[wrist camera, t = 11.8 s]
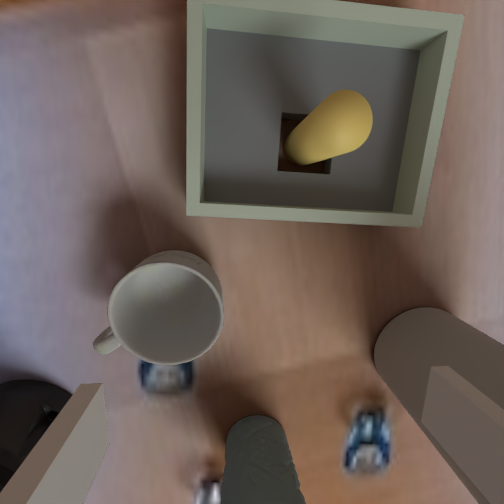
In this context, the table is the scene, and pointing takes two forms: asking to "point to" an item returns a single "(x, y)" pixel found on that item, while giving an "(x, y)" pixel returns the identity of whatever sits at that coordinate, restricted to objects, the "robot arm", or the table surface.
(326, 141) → the peg
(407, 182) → the box
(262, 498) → the grey-green cup
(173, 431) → the table surface
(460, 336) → the cylinder vase
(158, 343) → the teacup
